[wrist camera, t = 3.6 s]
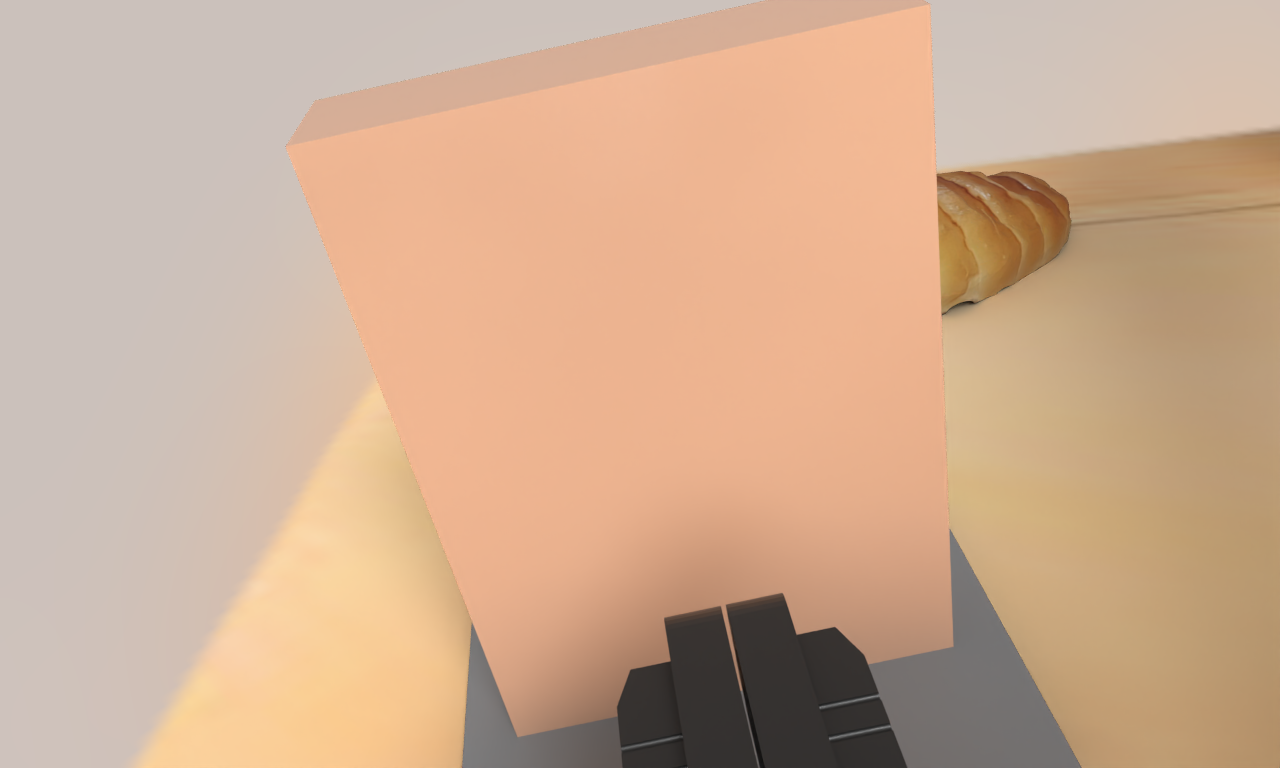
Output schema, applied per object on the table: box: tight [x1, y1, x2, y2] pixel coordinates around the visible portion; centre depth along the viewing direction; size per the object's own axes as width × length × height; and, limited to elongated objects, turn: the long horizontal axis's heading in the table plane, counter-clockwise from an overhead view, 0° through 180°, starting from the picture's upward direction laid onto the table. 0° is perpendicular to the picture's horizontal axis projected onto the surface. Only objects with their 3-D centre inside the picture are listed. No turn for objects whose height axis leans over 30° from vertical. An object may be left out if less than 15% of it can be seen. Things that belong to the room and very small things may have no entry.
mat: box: [462, 528, 1081, 768], centre depth 28 cm, size 12×22×1 cm, turn 6°
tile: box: [286, 0, 954, 737], centre depth 20 cm, size 10×3×14 cm, turn 96°
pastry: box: [936, 171, 1071, 314], centre depth 37 cm, size 9×7×4 cm
